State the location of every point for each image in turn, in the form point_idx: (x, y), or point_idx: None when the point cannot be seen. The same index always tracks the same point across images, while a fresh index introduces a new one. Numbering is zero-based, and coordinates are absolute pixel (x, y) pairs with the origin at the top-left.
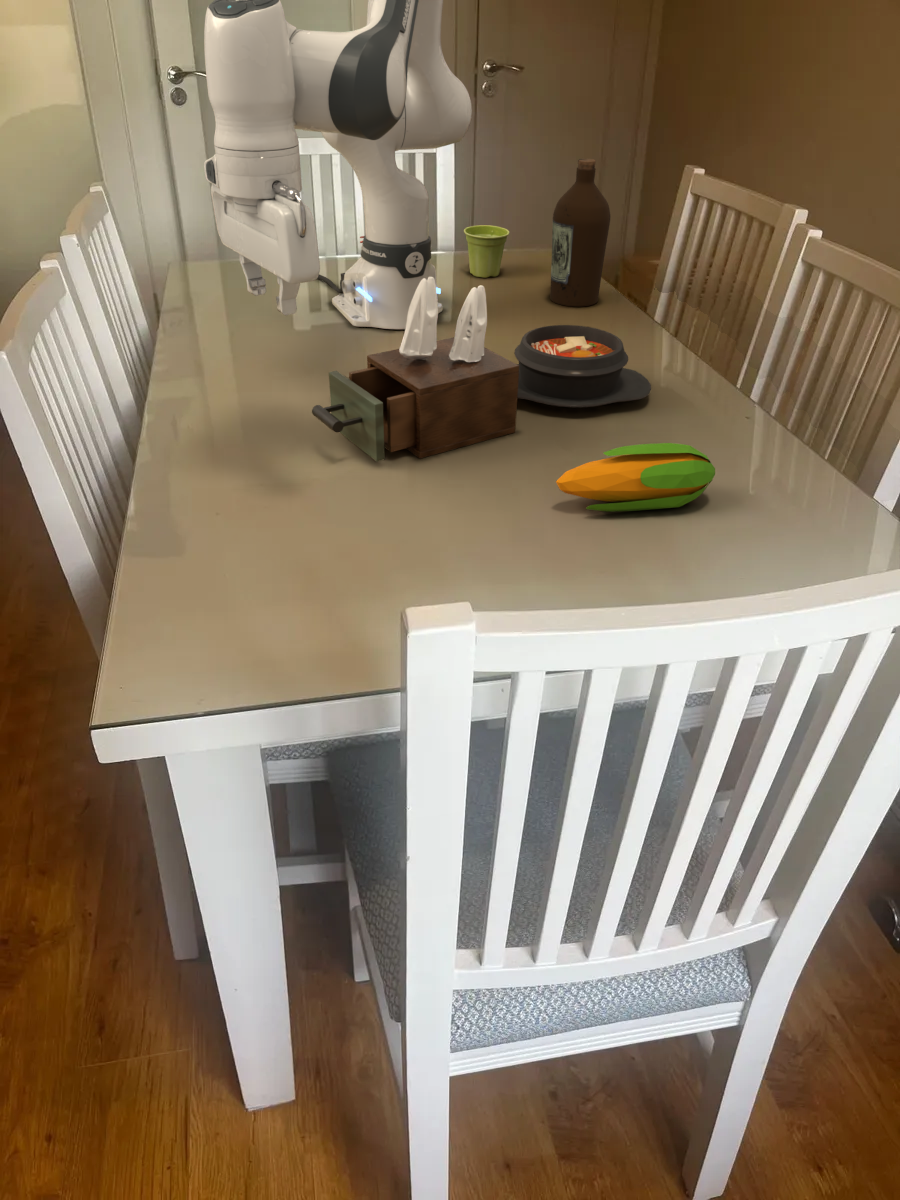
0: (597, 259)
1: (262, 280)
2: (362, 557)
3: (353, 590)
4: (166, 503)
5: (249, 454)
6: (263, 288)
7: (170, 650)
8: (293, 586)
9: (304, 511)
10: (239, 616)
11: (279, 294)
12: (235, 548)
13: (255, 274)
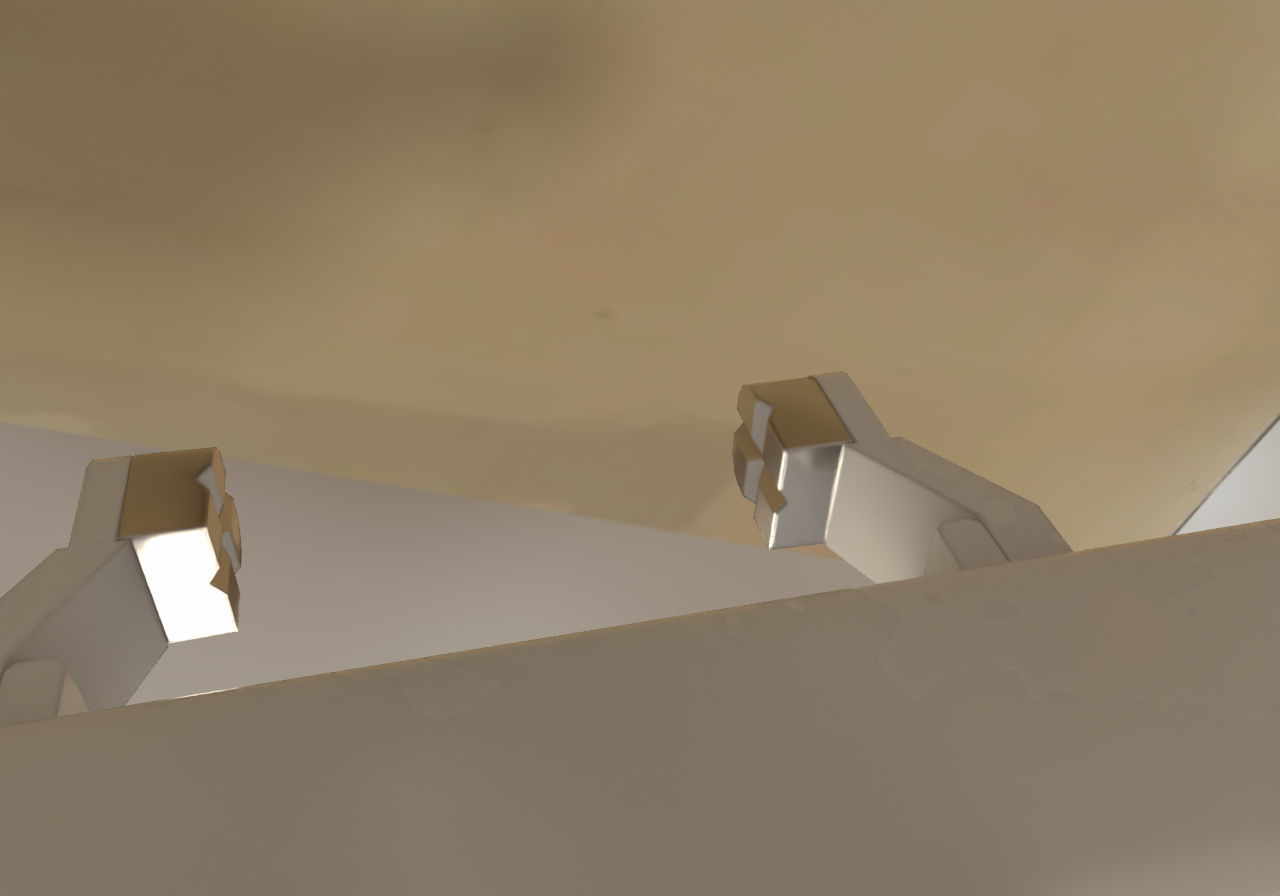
0: None
1: (210, 542)
2: (1111, 14)
3: (1199, 115)
4: (457, 425)
5: (173, 77)
6: (210, 486)
7: (1045, 504)
8: (1065, 244)
9: (756, 61)
10: (1060, 380)
11: (868, 571)
12: (813, 319)
13: (122, 612)
